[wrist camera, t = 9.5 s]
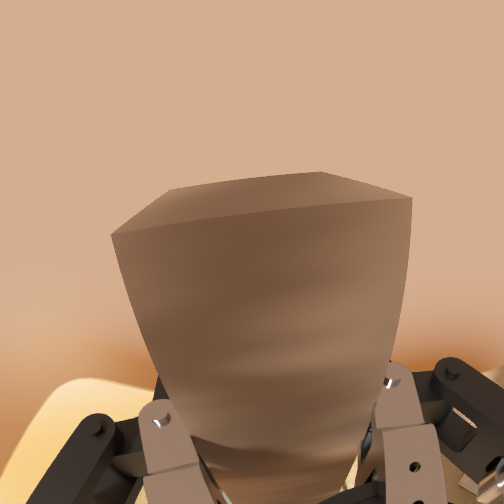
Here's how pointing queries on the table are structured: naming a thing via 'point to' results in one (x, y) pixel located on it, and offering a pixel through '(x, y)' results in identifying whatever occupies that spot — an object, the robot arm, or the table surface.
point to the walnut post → (271, 321)
